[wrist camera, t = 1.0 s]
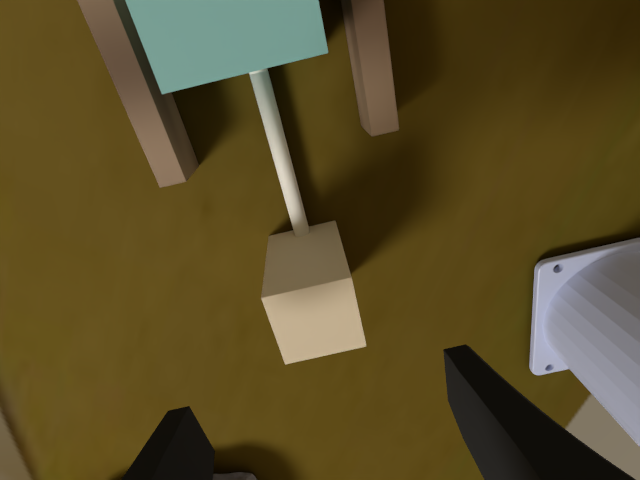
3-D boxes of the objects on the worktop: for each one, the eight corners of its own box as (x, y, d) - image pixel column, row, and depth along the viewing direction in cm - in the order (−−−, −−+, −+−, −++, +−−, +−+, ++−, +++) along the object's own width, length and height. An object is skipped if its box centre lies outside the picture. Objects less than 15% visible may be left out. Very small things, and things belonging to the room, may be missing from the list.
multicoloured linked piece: (147, -80, 12) (61, -164, 7) (281, -116, 12) (276, -223, 7) (273, 293, 19) (268, 367, 14) (360, 274, 18) (383, 342, 14)
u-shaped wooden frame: (46, -146, 11) (-7, -189, 9) (338, -225, 11) (348, -289, 9) (176, 171, 16) (160, 187, 14) (384, 120, 15) (399, 130, 13)
